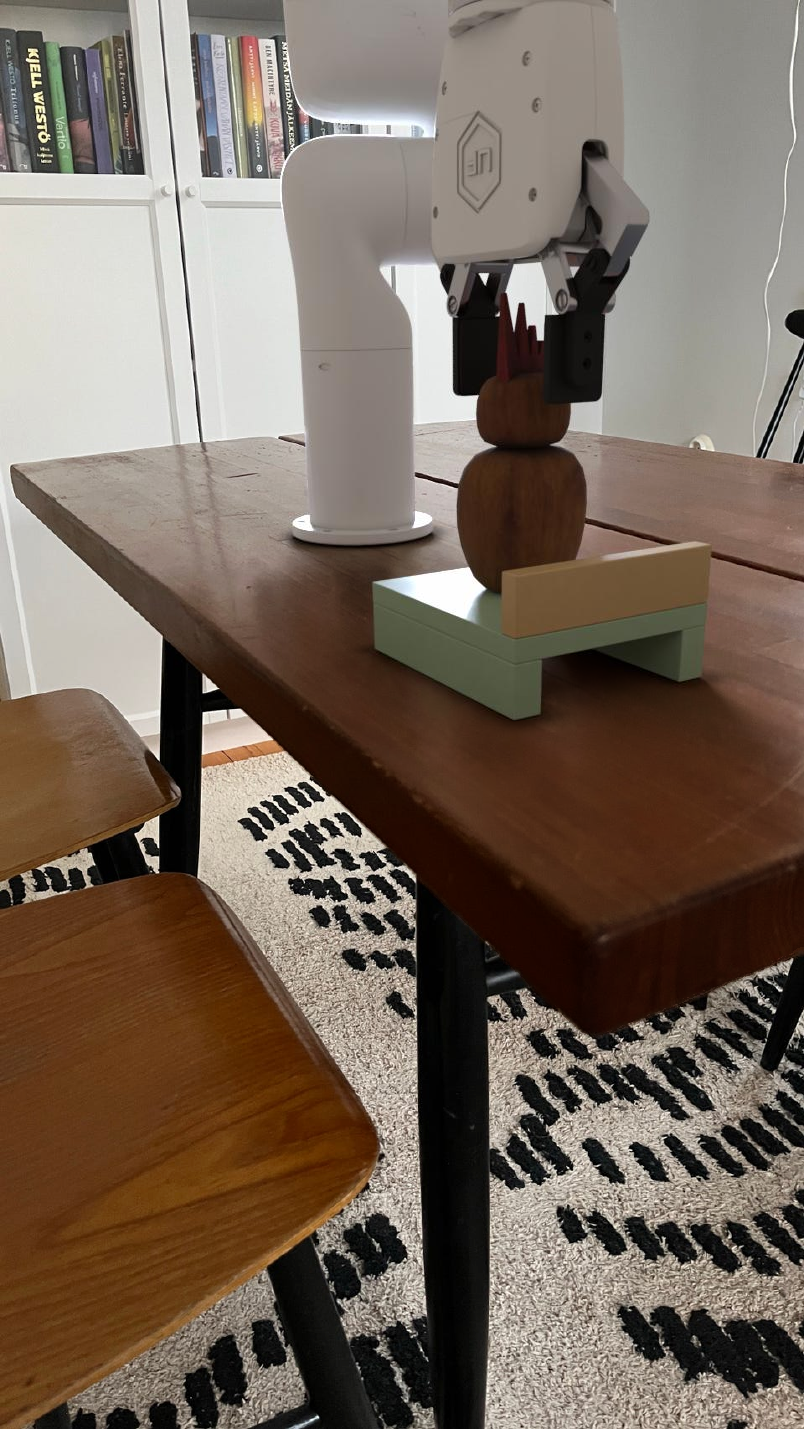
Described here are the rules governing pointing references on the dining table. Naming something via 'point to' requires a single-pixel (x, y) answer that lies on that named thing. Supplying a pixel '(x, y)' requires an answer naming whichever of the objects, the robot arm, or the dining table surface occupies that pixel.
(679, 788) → the dining table surface
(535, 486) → the wooden figurine
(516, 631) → the shelf
